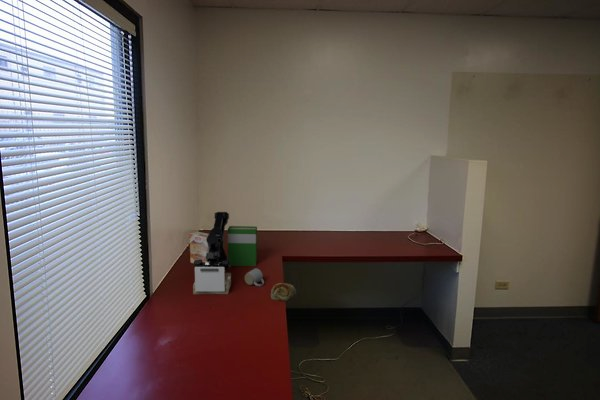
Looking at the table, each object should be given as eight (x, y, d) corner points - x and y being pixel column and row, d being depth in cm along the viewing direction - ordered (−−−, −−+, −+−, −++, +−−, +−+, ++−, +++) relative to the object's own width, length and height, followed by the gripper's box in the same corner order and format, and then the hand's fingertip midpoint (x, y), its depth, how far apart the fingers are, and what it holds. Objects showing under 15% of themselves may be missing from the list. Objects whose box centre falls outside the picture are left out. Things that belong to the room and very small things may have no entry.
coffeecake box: (190, 262, 235) (189, 233, 231) (197, 259, 241) (197, 231, 238) (207, 267, 228) (207, 237, 225) (215, 263, 235) (214, 234, 231)
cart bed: (198, 283, 204) (198, 272, 203) (231, 283, 205) (230, 272, 204) (193, 294, 191) (192, 282, 190) (227, 294, 192) (227, 282, 191)
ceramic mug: (243, 284, 205) (243, 271, 204) (252, 279, 212) (252, 266, 211) (258, 289, 200) (258, 275, 198) (267, 283, 207) (267, 271, 205)
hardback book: (256, 261, 240) (256, 226, 235) (255, 265, 233) (255, 229, 228) (230, 261, 239) (229, 226, 235) (228, 265, 232) (227, 229, 227)
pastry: (273, 303, 184) (273, 288, 182) (268, 292, 196) (268, 278, 194) (299, 300, 188) (300, 285, 186) (293, 290, 200) (293, 276, 198)
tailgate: (195, 290, 191) (195, 266, 188) (224, 290, 191) (224, 266, 189) (195, 291, 189) (194, 268, 186) (224, 291, 190) (223, 268, 187)
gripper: (193, 245, 193) (189, 273, 184) (229, 245, 194) (226, 273, 185) (197, 254, 202) (193, 281, 193) (231, 254, 203) (229, 281, 194)
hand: (210, 279), depth 191 cm, fingers closed
